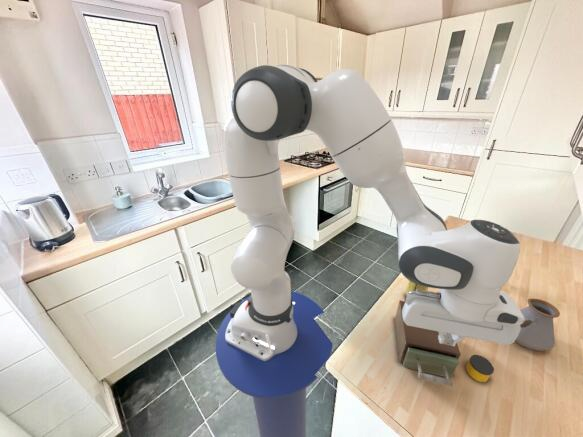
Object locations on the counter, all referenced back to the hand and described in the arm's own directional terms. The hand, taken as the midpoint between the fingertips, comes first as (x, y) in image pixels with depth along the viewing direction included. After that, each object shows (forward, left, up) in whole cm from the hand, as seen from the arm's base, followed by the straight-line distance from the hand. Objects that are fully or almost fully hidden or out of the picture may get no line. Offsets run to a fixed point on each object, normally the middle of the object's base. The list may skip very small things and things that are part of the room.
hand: (445, 342), depth 54 cm
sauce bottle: (+1, +29, -17) cm, 33 cm away
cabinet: (0, +11, -16) cm, 20 cm away
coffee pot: (+26, +18, -17) cm, 36 cm away
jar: (+13, +6, -16) cm, 22 cm away
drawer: (0, +6, -15) cm, 17 cm away
